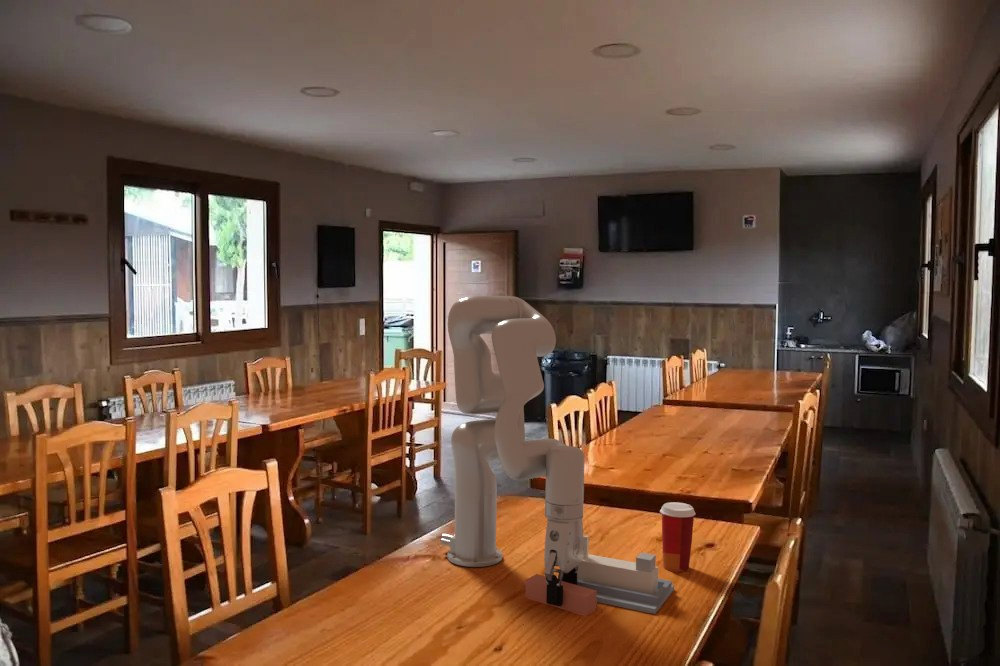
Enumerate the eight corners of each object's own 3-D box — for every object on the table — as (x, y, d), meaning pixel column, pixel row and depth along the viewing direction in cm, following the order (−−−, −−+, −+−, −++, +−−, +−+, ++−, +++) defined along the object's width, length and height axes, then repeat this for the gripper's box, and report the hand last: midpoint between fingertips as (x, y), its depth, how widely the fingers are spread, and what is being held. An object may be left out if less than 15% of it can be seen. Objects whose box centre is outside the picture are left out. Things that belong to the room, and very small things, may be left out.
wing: (525, 599, 161) (525, 579, 161) (536, 593, 164) (536, 573, 164) (585, 617, 153) (586, 597, 153) (596, 610, 156) (596, 590, 156)
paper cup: (688, 561, 183) (690, 501, 183) (697, 574, 176) (699, 511, 175) (654, 561, 183) (656, 501, 182) (662, 573, 176) (664, 511, 175)
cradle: (558, 594, 163) (559, 582, 163) (583, 572, 176) (583, 561, 175) (654, 614, 154) (655, 601, 154) (673, 589, 167) (674, 577, 166)
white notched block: (576, 583, 166) (577, 538, 166) (583, 576, 170) (585, 532, 170) (651, 598, 159) (652, 551, 159) (657, 590, 163) (659, 545, 163)
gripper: (565, 524, 148) (563, 617, 149) (596, 501, 164) (594, 586, 165) (528, 518, 152) (526, 609, 153) (562, 496, 167) (560, 579, 168)
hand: (561, 596), depth 159 cm, fingers open, 7 cm apart
